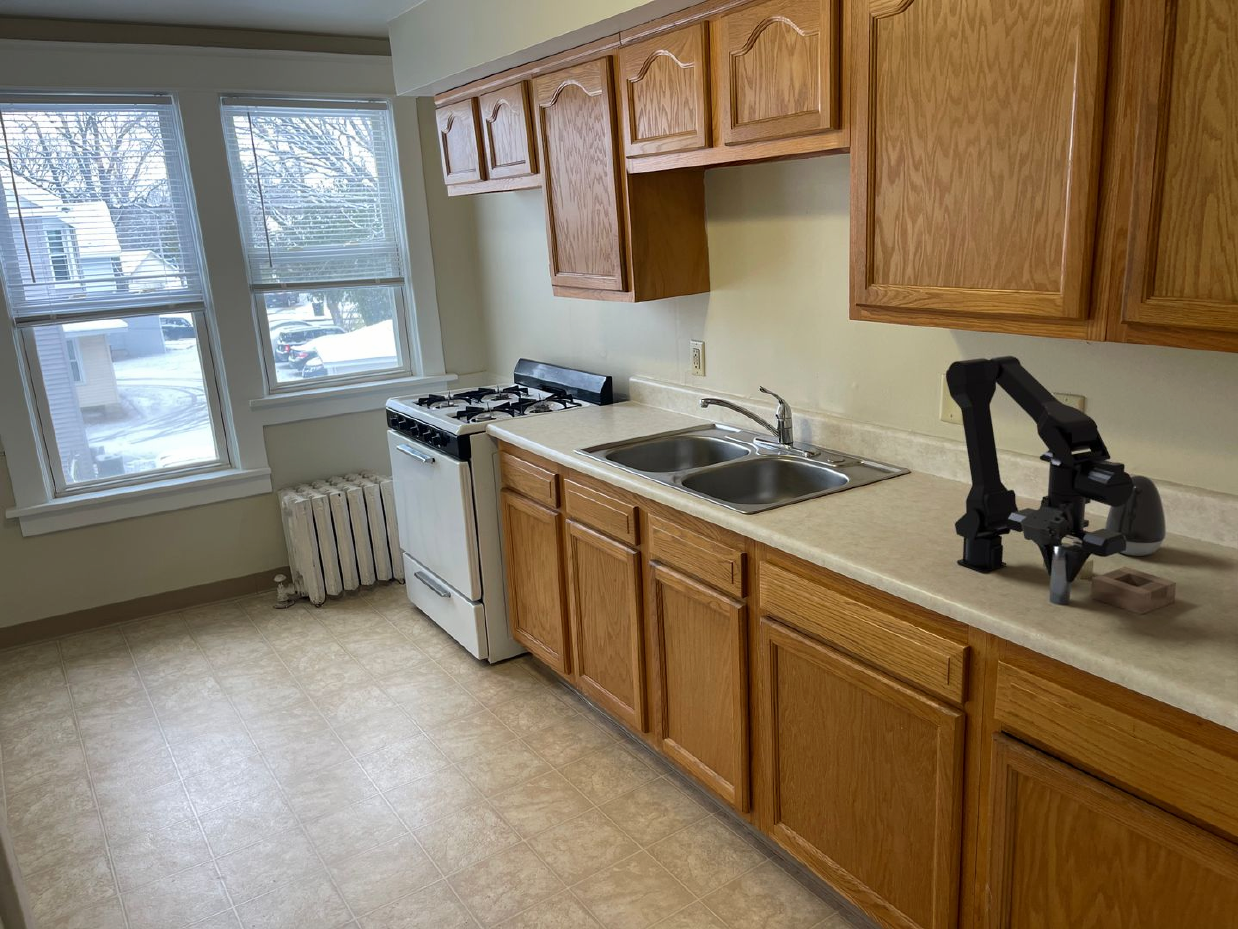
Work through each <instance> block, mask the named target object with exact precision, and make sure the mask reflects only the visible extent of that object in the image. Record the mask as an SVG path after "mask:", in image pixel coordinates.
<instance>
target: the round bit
mask: <svg viewBox="0 0 1238 929" xmlns="http://www.w3.org/2000/svg"><path fill="white" fill-rule="evenodd" d="M1072 545H1073V544H1071V543H1068V542H1061V543H1054V544H1053V550H1052V565H1051V576H1050V582H1049V598H1048V600H1049V602H1050V603H1053V604H1056V605H1069V604H1070V603H1071V590H1072V582H1071V583H1069V582H1067V567H1068V553H1067V552H1066V550H1065V549H1064V548H1065V547H1069V546H1072Z"/></svg>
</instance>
